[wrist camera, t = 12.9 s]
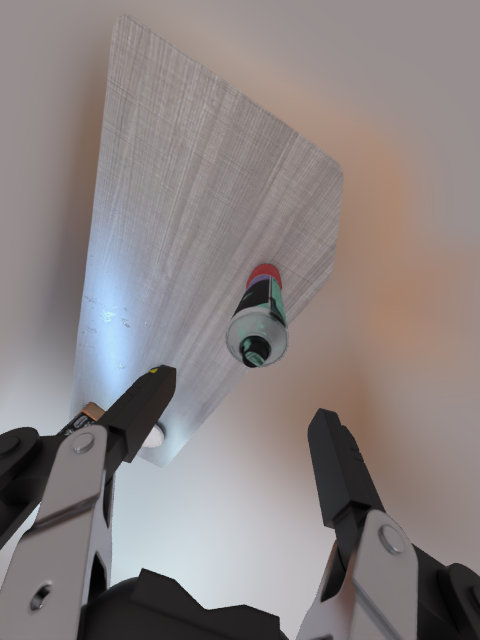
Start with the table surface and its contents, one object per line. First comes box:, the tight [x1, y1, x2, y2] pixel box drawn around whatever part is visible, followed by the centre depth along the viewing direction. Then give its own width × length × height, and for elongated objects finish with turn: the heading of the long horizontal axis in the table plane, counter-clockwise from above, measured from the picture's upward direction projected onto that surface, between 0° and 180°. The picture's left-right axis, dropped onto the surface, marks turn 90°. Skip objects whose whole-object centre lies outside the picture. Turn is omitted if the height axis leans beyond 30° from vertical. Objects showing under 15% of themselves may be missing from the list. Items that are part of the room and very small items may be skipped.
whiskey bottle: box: [57, 402, 105, 435], centre depth 62 cm, size 10×10×32 cm
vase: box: [142, 424, 164, 448], centre depth 71 cm, size 16×16×7 cm
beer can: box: [246, 264, 282, 290], centre depth 36 cm, size 7×7×12 cm
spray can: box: [226, 274, 289, 368], centre depth 22 cm, size 6×6×20 cm
